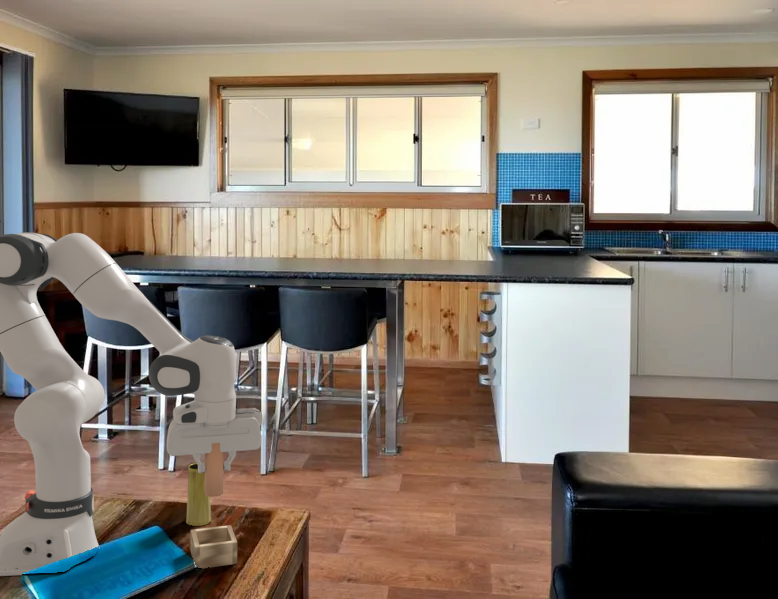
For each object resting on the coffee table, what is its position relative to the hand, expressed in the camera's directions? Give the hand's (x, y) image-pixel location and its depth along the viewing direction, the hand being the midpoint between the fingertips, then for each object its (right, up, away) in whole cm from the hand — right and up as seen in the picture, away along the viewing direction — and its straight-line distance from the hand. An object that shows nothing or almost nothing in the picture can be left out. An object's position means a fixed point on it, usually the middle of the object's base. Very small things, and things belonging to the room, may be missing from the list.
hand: (214, 471), depth 158 cm
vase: (-9, -18, +20) cm, 28 cm away
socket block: (-1, -20, +2) cm, 20 cm away
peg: (0, -5, +1) cm, 5 cm away
